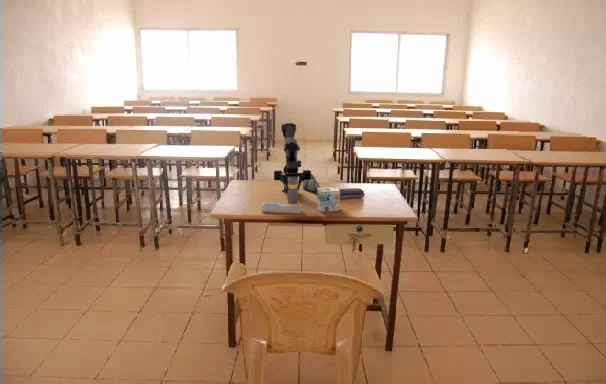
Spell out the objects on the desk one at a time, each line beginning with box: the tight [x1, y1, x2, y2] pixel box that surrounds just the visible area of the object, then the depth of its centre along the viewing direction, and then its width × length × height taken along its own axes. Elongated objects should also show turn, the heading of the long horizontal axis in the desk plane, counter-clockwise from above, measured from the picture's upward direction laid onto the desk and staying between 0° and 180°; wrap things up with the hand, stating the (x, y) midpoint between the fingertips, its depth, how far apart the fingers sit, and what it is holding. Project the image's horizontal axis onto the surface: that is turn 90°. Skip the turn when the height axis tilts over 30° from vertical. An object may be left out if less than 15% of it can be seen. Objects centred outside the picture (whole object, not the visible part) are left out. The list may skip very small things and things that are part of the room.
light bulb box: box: [316, 186, 341, 212], centre depth 232 cm, size 11×7×11 cm, turn 101°
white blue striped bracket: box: [261, 202, 303, 214], centre depth 229 cm, size 20×4×4 cm, turn 83°
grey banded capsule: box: [287, 177, 299, 205], centre depth 230 cm, size 5×5×13 cm
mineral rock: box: [302, 173, 321, 192], centre depth 265 cm, size 13×11×10 cm
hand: (293, 189), depth 228 cm, fingers closed on grey banded capsule, 5 cm apart
